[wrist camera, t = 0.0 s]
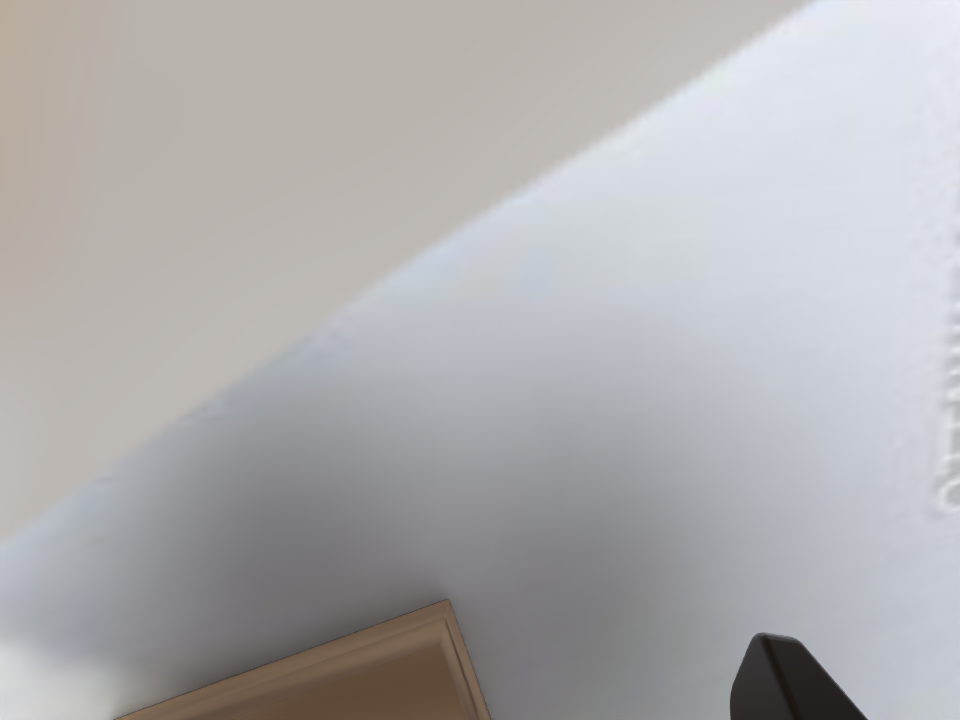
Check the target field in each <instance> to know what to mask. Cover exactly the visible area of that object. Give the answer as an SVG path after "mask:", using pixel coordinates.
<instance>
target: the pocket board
mask: <svg viewBox="0 0 960 720" xmlns="http://www.w3.org/2000/svg"><path fill="white" fill-rule="evenodd" d="M114 720H491V718H490V716H489V713H488V710H487V707H486V704H485V701H484V698H483V695H482V693H481V690H480V687H479V684H478V681H477V678H476V675H475V673H474V670H473V667H472V664H471V661H470V658H469V655H468V653H467V650H466V647H465V644H464V641H463V638H462V635H461V633H460V630H459V627H458V624H457V621H456V618H455V615H454V612H453V610H452V607H451V604H450V601H449V599H447V600H444V601H441V602H438V603H436V604H433V605H430V606H427V607H424V608H422V609H419V610H416V611H413V612H411V613H408V614H405V615H402V616H400V617H397V618H394V619H391V620H388V621H386V622H383V623H380V624H377V625H375V626H372V627H369V628H366V629H364V630H361V631H358V632H355V633H352V634H350V635H347V636H344V637H341V638H339V639H336V640H333V641H330V642H328V643H325V644H322V645H319V646H316V647H314V648H311V649H308V650H305V651H303V652H300V653H297V654H294V655H292V656H289V657H286V658H283V659H280V660H278V661H275V662H272V663H269V664H267V665H264V666H261V667H258V668H256V669H253V670H250V671H247V672H244V673H242V674H239V675H236V676H233V677H231V678H228V679H225V680H222V681H220V682H217V683H214V684H211V685H208V686H206V687H203V688H200V689H197V690H195V691H192V692H189V693H186V694H184V695H181V696H178V697H175V698H172V699H170V700H167V701H164V702H161V703H159V704H156V705H153V706H150V707H148V708H145V709H142V710H139V711H136V712H134V713H131V714H128V715H125V716H123V717H120V718H117V719H114Z"/></svg>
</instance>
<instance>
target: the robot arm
mask: <svg viewBox="0 0 960 720" xmlns="http://www.w3.org/2000/svg"><path fill="white" fill-rule="evenodd" d="M730 716H731V720H868V719H867V718H866V717H865V716H864V714H863V713H862V712H861V711H860V710H859V709H858V708H857V706H856V705H855V704H854V703H853V702H852V701H851V699H850V698H849V697H848V696H847V695H846V694H845V692H844V691H843V690H842V689H841V688H840V687H839V685H838V684H837V683H836V682H835V681H834V680H833V678H832V677H831V676H830V675H829V674H828V673H827V672H826V670H825V669H824V668H823V667H822V666H821V665H820V663H819V662H818V661H817V660H816V659H815V658H814V656H813V655H812V654H811V653H810V652H809V651H808V649H807V648H806V647H805V646H804V645H803V644H802V643H801V642H800V641H798V640H797V639H795V638H793V637H788V636H782V635H776V634H770V633H758V634H756V635H755V636H754V637H753V638H752V640H751V642H750V644H749V646H748V649H747V651H746V654H745V656H744V658H743V661H742V663H741V666H740V668H739V671H738V673H737V675H736V678H735V680H734V683H733V686H732V690H731V696H730Z"/></svg>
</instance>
